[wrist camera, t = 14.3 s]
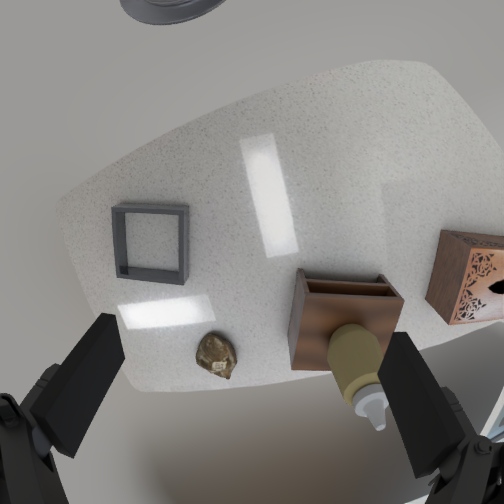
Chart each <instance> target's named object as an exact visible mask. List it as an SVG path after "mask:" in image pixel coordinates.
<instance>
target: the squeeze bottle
mask: <svg viewBox="0 0 504 504" xmlns="http://www.w3.org/2000/svg"><path fill="white" fill-rule="evenodd" d="M383 358H384V357H383V354H382V351H381V348H380V345H379V342H378V340H377V337H376V336H375V335H373V334H372V333H371V332H369V331H368V330H366V329H365V328H363V327H362V326H360V325H358V324H346V325H344V326H342V327H339V328H338V329H337V330H336V331H335V332H334V333H333V335H332V337H331V339H330V343H329V348H328V352H327V361H328V363H329V366H330V368H331V370H332V373H333V375H334V377H335V379H336V382H337V384H338V386H339V389H340V391H341V394H342V396H343V398H344V400H345V402H346V403H347V404H349V405H351V406H353V407H354V410H355V412H356V414H357V415H359V416H365V417H368V418H369V420H370V421H371V423H372V424H373V426H374V427H375V429H376V430H378V431H379V430H382V429H384V428H385V426H386V422H385V410H384V409H385V408H386V407H387V406H388V405H389V403H388V400H387V398H386V395H385V393H384V390H383V388H382V385H381V383H380V380H379V378H378V375H377V373H378V370H379V368H380V365H381V363H382V360H383Z"/></svg>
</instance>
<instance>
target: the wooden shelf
mask: <svg viewBox="0 0 504 504" xmlns="http://www.w3.org/2000/svg"><path fill="white" fill-rule="evenodd" d="M403 304H404V299H403V298H402V297H401V295H400V294H399V293H398V292H397V291H396V289H395V288H394V287H393V286H392V285H391V284H390V282H389V281H388V280H387V279H386V278H385V276H384V275H382V274H379V277H378V281H377V283H365V282H348V281H333V280H318V279H305V276H304V272H303V269H299V268H298V271H297V278H296V285H295V292H294V298H293V305H292V311H291V318H290V324H289V330H288V344H289V353H290V362H291V370H311V371H332V370H331V368H330V366H329V363H328V361H327V352H328V348H329V343H330V339H331V337H332V335H333V333H334V332H335V331H336V330H337V329H338V328H339V327H342V326H344V325H346V324H358V325H360V326H362V327H363V328H365V329H366V330H368V331H369V332H371V333H372V334H373V335H375V336H376V337H377V340H378V342H379V345H380V348H381V351H382V354H383V357H384V355H385V353H386V350H387V347H388V345H389V342H390V339H391V336H392V333H393V332H394V331H395V328H396V325H397V322H398V319H399V316H400V313H401V310H402V307H403Z"/></svg>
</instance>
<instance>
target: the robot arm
mask: <svg viewBox="0 0 504 504" xmlns="http://www.w3.org/2000/svg"><path fill="white" fill-rule="evenodd" d="M144 1H146V2H148V3H150V4H153V5H158V6H171V5H177V4H181V3H184V2H187V1H190V0H144ZM124 360H125V356H124V352H123V347H122V343H121V339H120V334H119V330H118V325H117V320H116V315H113V314H107V313H101V315H100V316H99V317H98V318H97V319H96V321H95V322H94V323H93V324H92V326H91V327H90V328H89V329H88V331H87V332H86V333H85V335H84V336H83V337H82V338H81V340H80V341H79V342H78V343H77V345H76V346H75V347H74V348H73V350H72V351H71V352H70V354H69V355H68V356H67V357H66V359H65V360H64V361H63V363H62V364H61V365H59V364H56V363H55V364H53V365H52V366H51V367H49V368H47V369H46V370H45V372H44V373H43V374H42V376H41V377H40V379H38V381H37V382H36V383H35V385H34V386H33V388H32V389H31V390H30V392H29V393H28V394H27V396H26V397H25V398H24V400H23V401H22V403H21V404H20V406H19V405H18V404H17V402H16V401H15V399H14V398H13V397H12V396H11V395H10V394H7V393H1V394H0V504H69V502H68V500H67V497H66V495H65V492H64V489H63V487H62V484H61V481H60V478H59V475H58V472H57V468H56V465H55V462H54V458H53V455H52V453H51V451H50V449H51V447H52V445H53V446H54V447H55V448H56V450H57V451H58V452H60V453H61V454H64V455H66V456H68V457H71V458H74V456H75V454H76V452H77V450H78V448H79V446H80V444H81V442H82V440H83V438H84V436H85V434H86V432H87V430H88V428H89V426H90V424H91V422H92V420H93V418H94V416H95V414H96V412H97V410H98V408H99V406H100V404H101V402H102V401H103V398H104V397H105V395H106V393H107V391H108V389H109V387H110V385H111V383H112V382H113V380H114V378H115V376H116V374H117V372H118V370H119V369H120V367H121V365H122V364H123V362H124ZM377 375H378V378H379V380H380V383H381V385H382V388H383V390H384V393H385V395H386V398H387V400H388V403H389V405H390V408H391V410H392V413H393V416H394V418H395V421H396V424H397V426H398V429H399V432H400V434H401V437H402V440H403V443H404V446H405V448H406V451H407V454H408V457H409V460H410V463H411V465H412V469H413V472H414V475H415V478H416V479H417V478H420V477H423V476H427V475H430V474H432V473H433V472H434V471H435V470H436V469H437V468H438V467H439V470H440V473H439V474H438V475H437V476H436V477H435V478H434V479H433V480H432V481H431V482H430V483H429V484H428V485H429V486H430V485H432V484H433V483H434V485H433V487H432V489H431V492H430V494H429V496H428V498H427V500H426V502H425V504H504V442H499V443H492V442H491V441H490V440H489V438H487V437H485V436H481V435H479V436H478V435H477V434H476V432H475V430H474V428H473V426H472V424H471V423H470V421H469V419H468V417H467V415H466V414H465V412H464V411H463V408H462V407H461V405H460V404H459V401H458V400H457V398H456V396H455V394H454V393H453V392H452V391H451V390H449V389H448V388H447V387H442V388H440V387H439V385H438V383H437V381H436V380H435V378H434V376H433V374H432V373H431V371H430V369H429V368H428V366H427V364H426V363H425V361H424V359H423V358H422V356H421V354H420V353H419V351H418V350H417V348H416V346H415V345H414V343H413V342H412V340H411V339H410V337H409V335H408V334H407V332H393V333H392V336H391V339H390V342H389V345H388V347H387V350H386V353H385V355H384V358H383V360H382V363H381V365H380V368H379V370H378V373H377ZM500 479H501V484H500Z"/></svg>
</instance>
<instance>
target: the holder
mask: <svg viewBox="0 0 504 504" xmlns="http://www.w3.org/2000/svg"><path fill="white" fill-rule="evenodd" d="M111 208H112V229H113V243H114V255H115V266H116V275H117V278H124V279H132V280H140V281H149V282H157V283H166V284H176V285H184V284H185V283H186V281H187V279H188V277H189V206H180V205H160V204H136V203H120V204H117V205H115V206H113V207H111ZM125 212H131V213H152V214H170V215H179V272H175V271H165V270H156V269H146V268H137V267H128V263H127V250H126V234H125Z"/></svg>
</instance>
